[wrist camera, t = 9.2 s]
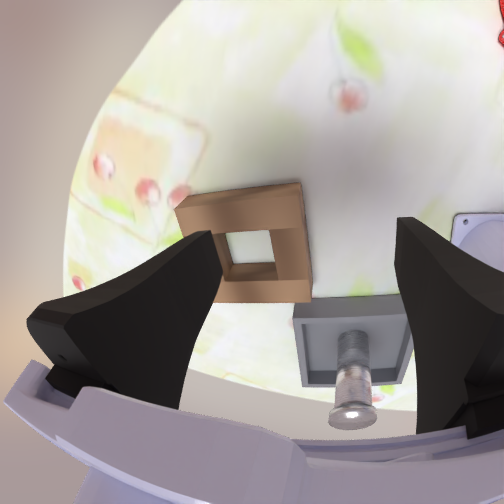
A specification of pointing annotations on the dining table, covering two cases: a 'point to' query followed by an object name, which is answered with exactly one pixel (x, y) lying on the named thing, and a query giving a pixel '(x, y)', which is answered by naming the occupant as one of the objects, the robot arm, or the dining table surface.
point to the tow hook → (503, 2)
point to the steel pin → (353, 383)
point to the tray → (345, 319)
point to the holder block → (251, 219)
